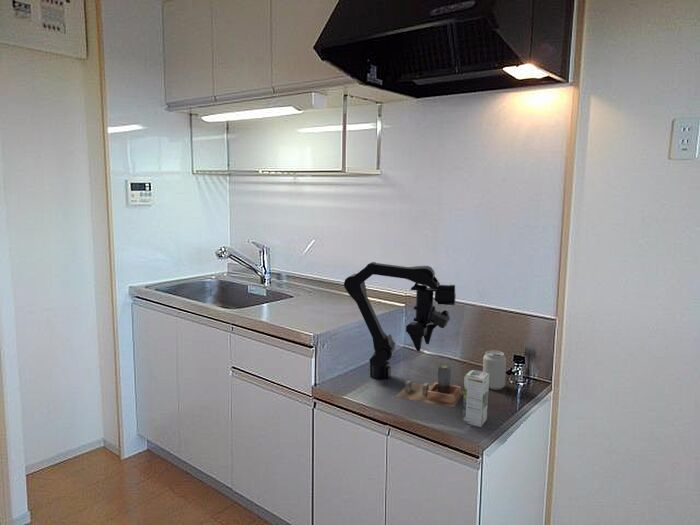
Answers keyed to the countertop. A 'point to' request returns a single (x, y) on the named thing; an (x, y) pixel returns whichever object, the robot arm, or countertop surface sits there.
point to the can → (495, 369)
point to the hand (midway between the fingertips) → (423, 347)
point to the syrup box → (475, 397)
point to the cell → (444, 379)
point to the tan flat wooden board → (430, 394)
